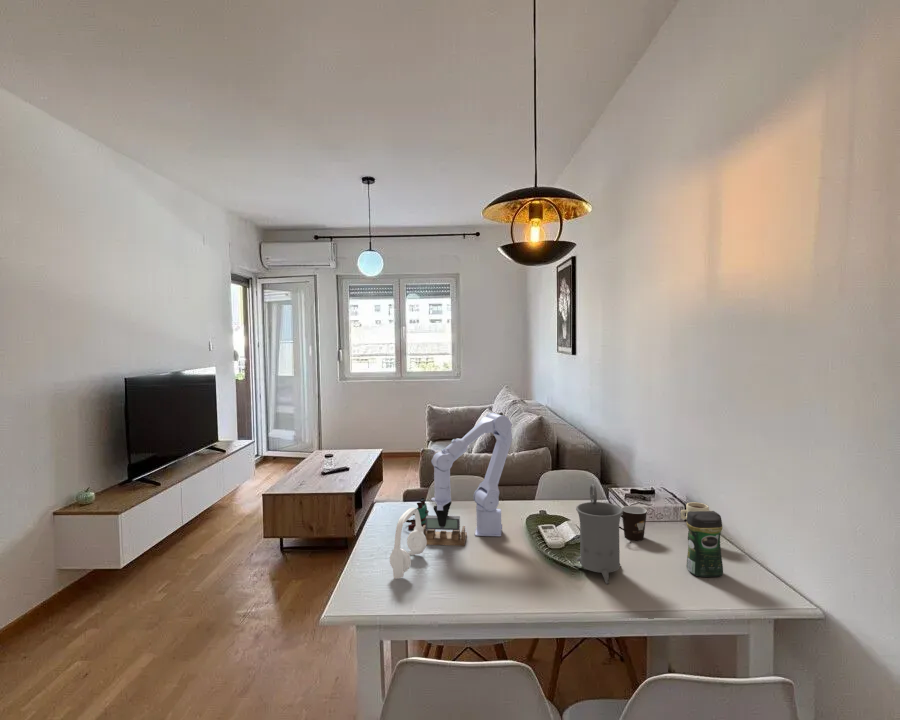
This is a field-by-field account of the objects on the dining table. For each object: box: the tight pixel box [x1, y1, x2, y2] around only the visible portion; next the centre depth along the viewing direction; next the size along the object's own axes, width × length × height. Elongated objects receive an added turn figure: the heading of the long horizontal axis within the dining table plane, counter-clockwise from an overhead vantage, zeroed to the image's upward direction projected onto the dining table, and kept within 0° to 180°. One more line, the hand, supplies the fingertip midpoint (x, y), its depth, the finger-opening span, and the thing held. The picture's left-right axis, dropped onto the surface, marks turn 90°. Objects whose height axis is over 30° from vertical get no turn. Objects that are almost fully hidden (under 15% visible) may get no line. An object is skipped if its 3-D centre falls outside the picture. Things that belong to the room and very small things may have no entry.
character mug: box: [680, 501, 710, 541], centre depth 182 cm, size 11×7×13 cm, turn 81°
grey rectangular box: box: [426, 514, 461, 531], centre depth 188 cm, size 12×3×4 cm, turn 83°
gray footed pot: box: [575, 483, 623, 585], centre depth 161 cm, size 19×15×25 cm
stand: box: [423, 525, 468, 547], centre depth 189 cm, size 16×10×4 cm, turn 83°
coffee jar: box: [686, 510, 724, 578], centre depth 159 cm, size 10×8×19 cm
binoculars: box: [405, 497, 429, 530], centre depth 202 cm, size 9×11×10 cm
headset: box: [389, 507, 427, 580], centre depth 166 cm, size 20×7×18 cm, turn 164°
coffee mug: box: [619, 505, 648, 542], centre depth 187 cm, size 12×9×10 cm
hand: (443, 524), depth 188 cm, fingers closed on grey rectangular box, 3 cm apart
